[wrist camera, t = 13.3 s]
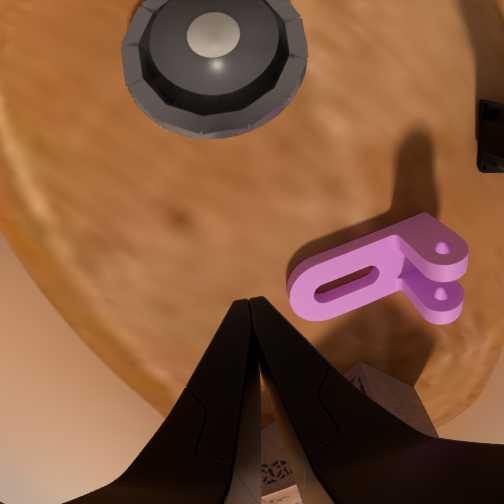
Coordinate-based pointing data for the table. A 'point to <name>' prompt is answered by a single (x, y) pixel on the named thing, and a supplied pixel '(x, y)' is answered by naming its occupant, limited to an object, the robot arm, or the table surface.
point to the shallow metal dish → (214, 107)
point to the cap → (213, 43)
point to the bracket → (387, 272)
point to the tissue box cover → (372, 384)
